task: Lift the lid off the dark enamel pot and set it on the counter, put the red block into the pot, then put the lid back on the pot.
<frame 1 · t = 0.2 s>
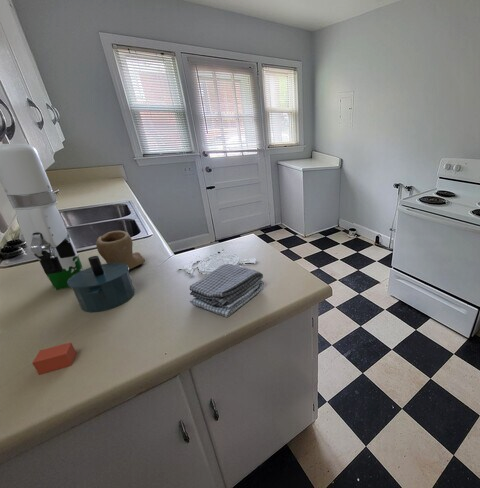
hand: (61, 264, 70), 17 cm above the countertop, tool pointing down, fingers open, 9 cm apart
pot: (109, 298, 85), on the countertop
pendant: (219, 265, 105), on the countertop
red block: (58, 363, 61), on the countertop
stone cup: (126, 269, 103), on the countertop
towel: (229, 297, 86), on the countertop
lid: (100, 275, 81), point 8 cm above the countertop, touching pot
milk carton: (70, 283, 94), on the countertop
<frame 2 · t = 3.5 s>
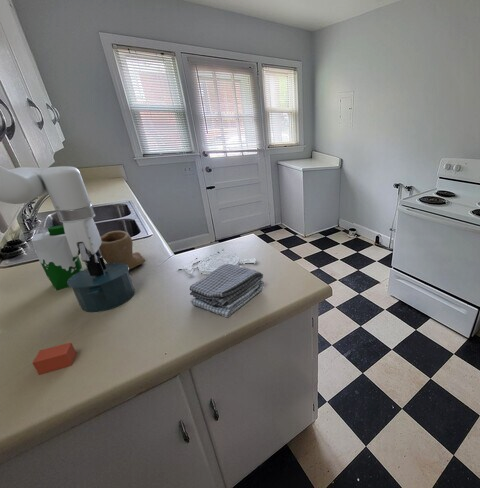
hand: (98, 271, 81), 10 cm above the countertop, tool pointing down, fingers closed on lid, 2 cm apart
lid: (100, 275, 81), point 9 cm above the countertop, touching gripper, pot
everything else where it was.
when the fingers open (2 cm above the countertop, at t = 10.5 s): lid stays where it is, point 1 cm above the countertop.
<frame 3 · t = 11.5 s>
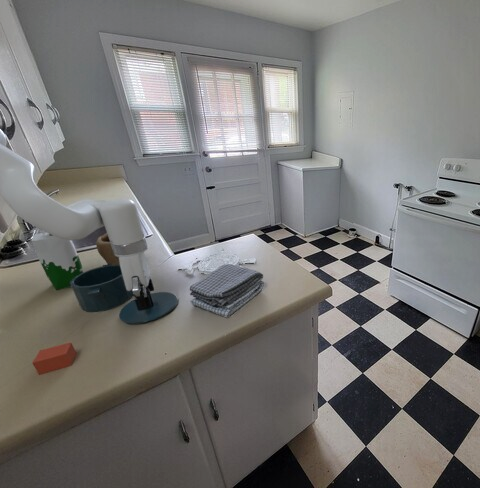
hand: (146, 299, 79), 3 cm above the countertop, tool pointing down, fingers open, 9 cm apart
lid: (149, 307, 80), point 1 cm above the countertop
everything else where it was.
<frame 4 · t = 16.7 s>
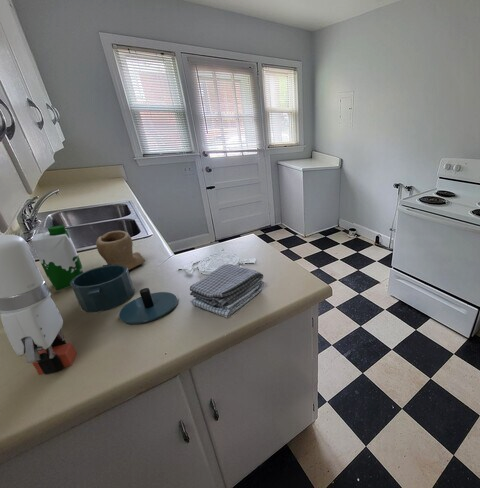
hand: (58, 362, 61), 0 cm above the countertop, tool pointing down, fingers closed on red block, 4 cm apart
red block: (58, 363, 61), on the countertop, touching gripper
everything else where it was.
when the fingers open (8 cm above the countertop, at t = 23.2 s): red block drops 7 cm, resting on pot.
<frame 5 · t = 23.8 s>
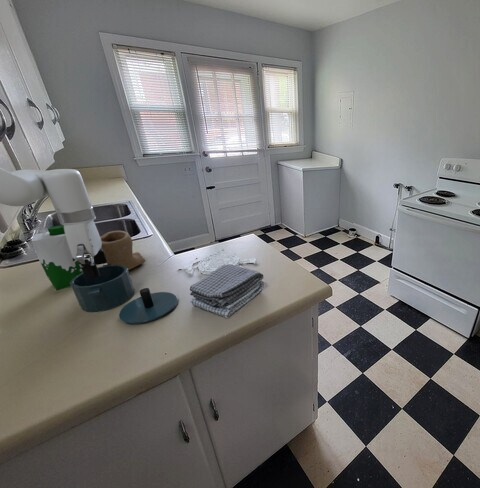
hand: (97, 270, 81), 10 cm above the countertop, tool pointing down, fingers open, 9 cm apart
red block: (108, 297, 85), resting on pot
everything else where it was.
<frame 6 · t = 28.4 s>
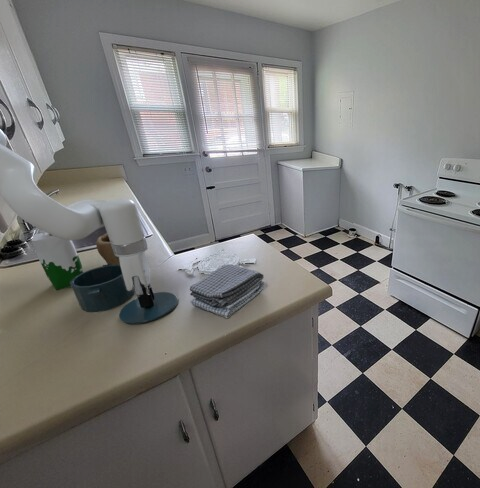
hand: (148, 302, 79), 2 cm above the countertop, tool pointing down, fingers closed on lid, 2 cm apart
lid: (149, 307, 80), point 1 cm above the countertop, touching gripper
everything else where it was.
when the fingers open (10 cm above the countertop, at t = 35.3 s): lid stays where it is, resting on pot.
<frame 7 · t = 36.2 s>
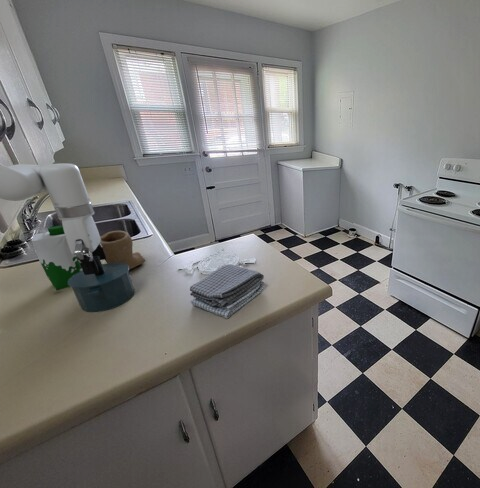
hand: (96, 266, 80), 12 cm above the countertop, tool pointing down, fingers open, 9 cm apart
lid: (100, 275, 81), point 8 cm above the countertop, touching pot
everything else where it was.
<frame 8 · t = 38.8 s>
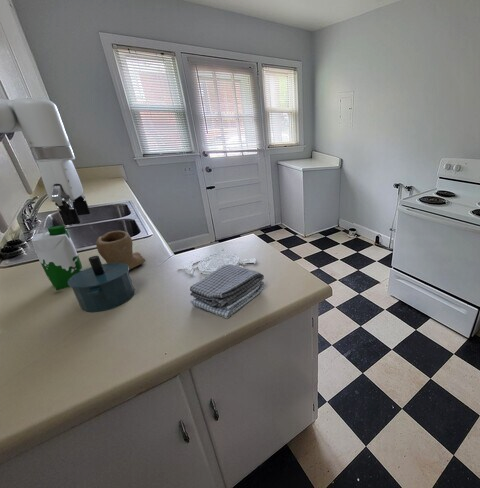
hand: (78, 219, 74), 26 cm above the countertop, tool pointing down, fingers open, 9 cm apart
nothing on the countertop moved.
at the end: red block inside the target area in the pot (0.1 cm from its centre), point 0.5 cm above the pot's base; lid 0.1 cm off-centre on the pot, point 8.5 cm above the pot's base; lid tilted 0° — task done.
